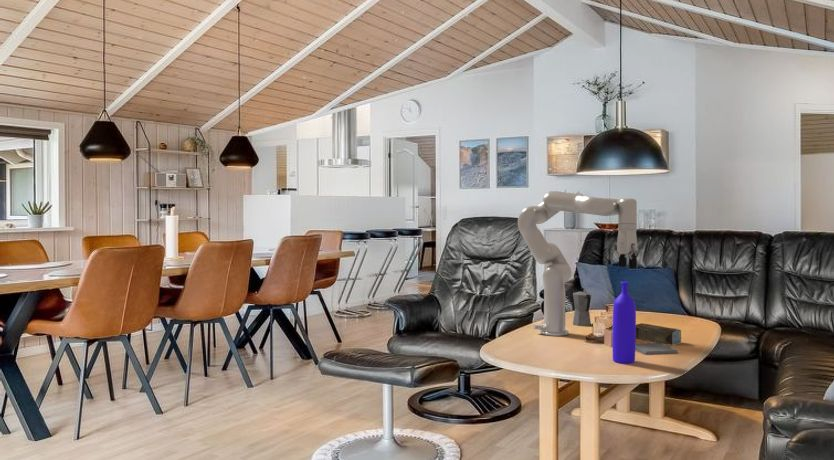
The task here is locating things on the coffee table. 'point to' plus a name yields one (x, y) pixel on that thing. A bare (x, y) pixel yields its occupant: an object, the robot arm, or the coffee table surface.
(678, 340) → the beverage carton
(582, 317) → the coffeepot
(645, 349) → the coaster
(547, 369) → the coffee table surface
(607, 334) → the cube
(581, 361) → the coffee table surface
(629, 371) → the coffee table surface
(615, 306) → the bottle
